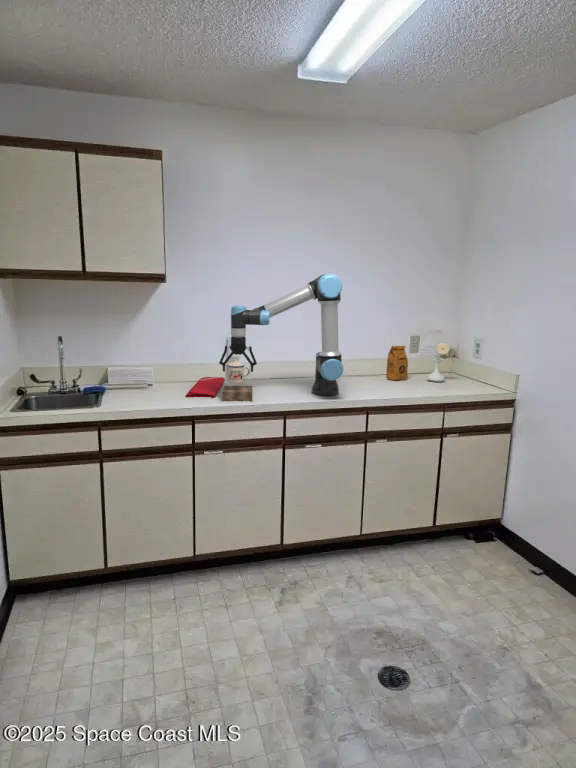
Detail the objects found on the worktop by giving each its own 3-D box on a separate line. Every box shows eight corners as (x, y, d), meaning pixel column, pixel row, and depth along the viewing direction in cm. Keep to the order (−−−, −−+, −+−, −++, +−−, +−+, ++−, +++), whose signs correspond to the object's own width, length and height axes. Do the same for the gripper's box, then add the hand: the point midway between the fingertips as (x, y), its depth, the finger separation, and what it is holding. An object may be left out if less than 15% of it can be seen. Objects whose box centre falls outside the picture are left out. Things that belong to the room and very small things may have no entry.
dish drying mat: (184, 398, 266) (184, 391, 265) (199, 382, 306) (199, 376, 306) (214, 399, 266) (214, 392, 265) (225, 383, 306) (225, 376, 305)
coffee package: (409, 380, 325) (411, 346, 321) (393, 381, 320) (395, 346, 316) (399, 377, 334) (402, 344, 330) (383, 378, 329) (386, 344, 325)
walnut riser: (252, 395, 275) (252, 385, 274) (252, 401, 260) (252, 392, 259) (224, 394, 274) (224, 385, 273) (222, 401, 259) (222, 391, 258)
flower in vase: (423, 381, 325) (426, 342, 320) (430, 378, 334) (433, 340, 329) (443, 384, 317) (447, 344, 312) (450, 381, 326) (453, 342, 321)
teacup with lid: (227, 383, 259) (227, 360, 257) (225, 379, 268) (225, 357, 266) (250, 382, 262) (251, 360, 260) (247, 379, 271) (248, 357, 269)
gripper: (261, 335, 265) (261, 376, 269) (214, 334, 263) (215, 376, 267) (262, 337, 258) (261, 379, 262) (214, 336, 256) (214, 379, 260)
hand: (238, 378), depth 265 cm, fingers closed on teacup with lid, 12 cm apart
